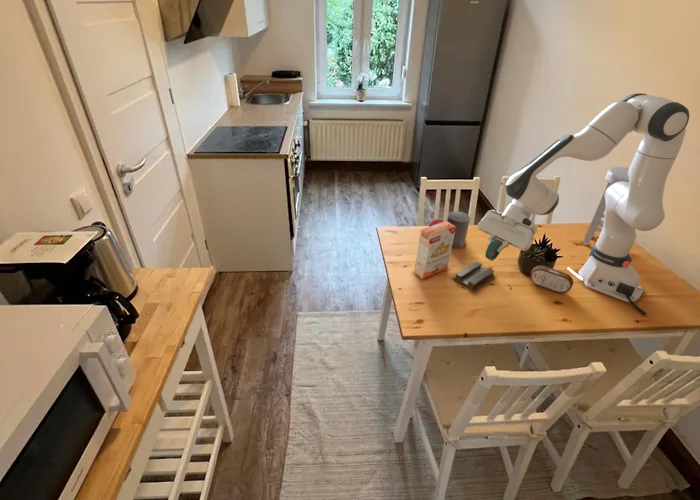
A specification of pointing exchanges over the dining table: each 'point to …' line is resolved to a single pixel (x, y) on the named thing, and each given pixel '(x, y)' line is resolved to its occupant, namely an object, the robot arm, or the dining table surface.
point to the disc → (493, 249)
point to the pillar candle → (459, 227)
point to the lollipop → (435, 222)
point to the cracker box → (434, 249)
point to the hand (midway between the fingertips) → (493, 249)
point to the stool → (612, 177)
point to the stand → (474, 276)
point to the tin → (551, 279)
